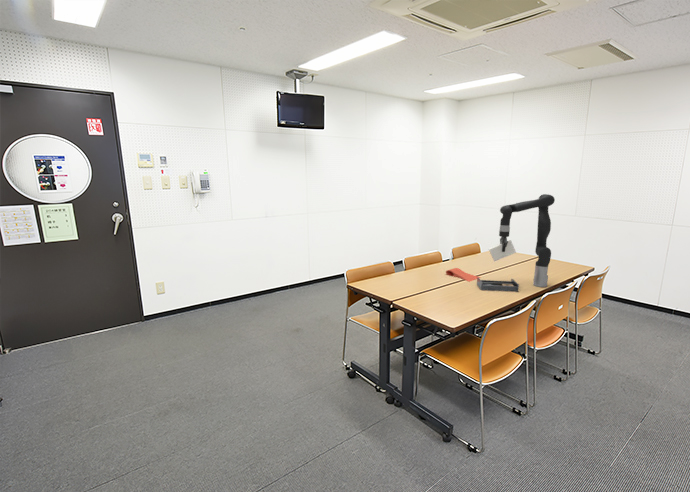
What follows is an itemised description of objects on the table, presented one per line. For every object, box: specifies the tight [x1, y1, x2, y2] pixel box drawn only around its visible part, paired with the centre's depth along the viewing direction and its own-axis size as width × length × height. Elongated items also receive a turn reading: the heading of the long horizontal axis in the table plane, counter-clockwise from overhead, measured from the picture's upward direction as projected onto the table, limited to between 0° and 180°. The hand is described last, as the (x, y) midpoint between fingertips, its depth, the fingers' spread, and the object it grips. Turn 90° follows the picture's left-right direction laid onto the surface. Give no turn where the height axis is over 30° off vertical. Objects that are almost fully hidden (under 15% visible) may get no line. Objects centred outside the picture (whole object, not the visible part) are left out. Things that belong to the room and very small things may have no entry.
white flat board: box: [488, 240, 517, 262], centre depth 286 cm, size 18×2×11 cm, turn 82°
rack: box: [476, 278, 520, 293], centre depth 282 cm, size 28×15×6 cm, turn 82°
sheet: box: [445, 267, 482, 283], centre depth 315 cm, size 5×30×24 cm
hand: (502, 251), depth 286 cm, fingers closed on white flat board, 2 cm apart
